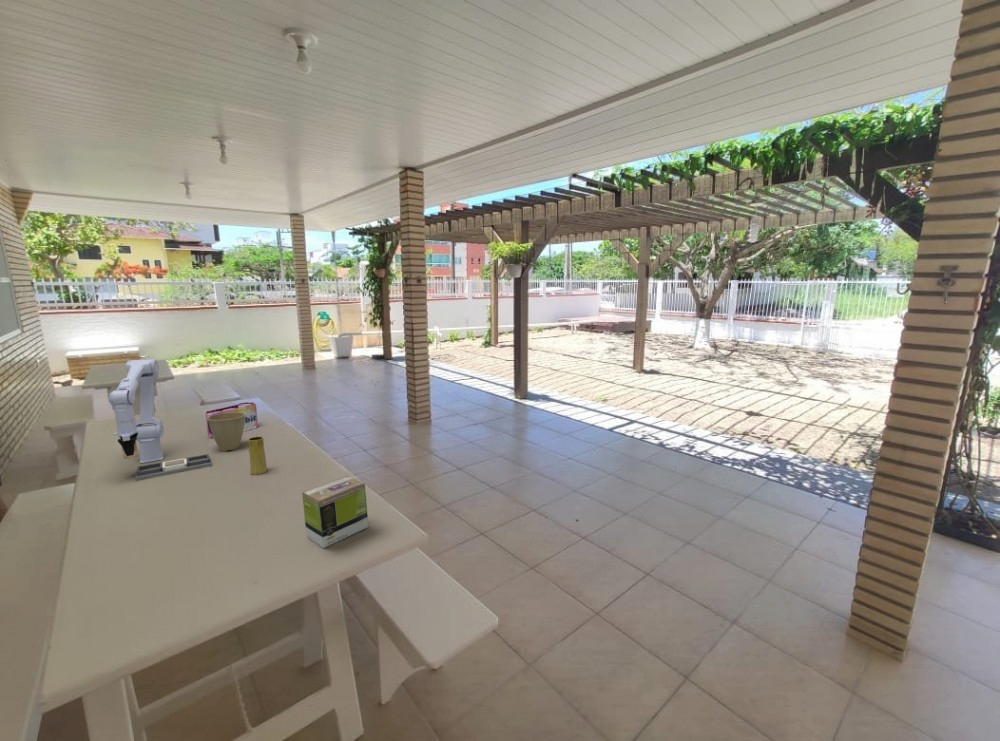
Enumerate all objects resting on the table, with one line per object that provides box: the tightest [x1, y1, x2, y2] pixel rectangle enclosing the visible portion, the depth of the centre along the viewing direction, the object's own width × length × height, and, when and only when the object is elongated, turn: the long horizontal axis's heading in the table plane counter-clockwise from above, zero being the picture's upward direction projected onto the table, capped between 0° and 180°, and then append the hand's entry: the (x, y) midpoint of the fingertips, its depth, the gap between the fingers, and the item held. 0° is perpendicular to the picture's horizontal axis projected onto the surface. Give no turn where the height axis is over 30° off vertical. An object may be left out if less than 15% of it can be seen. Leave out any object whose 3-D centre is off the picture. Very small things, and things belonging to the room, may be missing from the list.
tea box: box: [302, 475, 369, 549], centre depth 130 cm, size 15×10×15 cm, turn 141°
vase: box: [247, 436, 268, 476], centre depth 176 cm, size 6×6×14 cm
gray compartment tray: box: [135, 453, 213, 481], centre depth 180 cm, size 11×25×3 cm, turn 127°
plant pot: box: [207, 412, 245, 452], centre depth 204 cm, size 15×15×16 cm
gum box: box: [205, 402, 259, 438], centre depth 229 cm, size 24×8×14 cm, turn 155°
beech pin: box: [121, 440, 139, 460], centre depth 171 cm, size 4×4×6 cm
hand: (130, 453), depth 172 cm, fingers closed on beech pin, 4 cm apart
